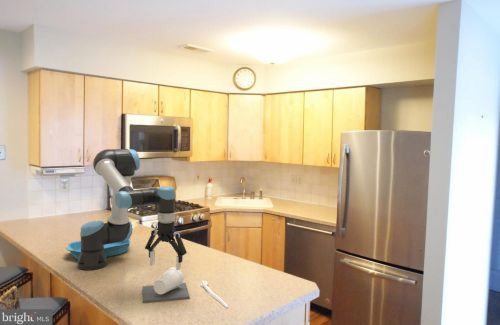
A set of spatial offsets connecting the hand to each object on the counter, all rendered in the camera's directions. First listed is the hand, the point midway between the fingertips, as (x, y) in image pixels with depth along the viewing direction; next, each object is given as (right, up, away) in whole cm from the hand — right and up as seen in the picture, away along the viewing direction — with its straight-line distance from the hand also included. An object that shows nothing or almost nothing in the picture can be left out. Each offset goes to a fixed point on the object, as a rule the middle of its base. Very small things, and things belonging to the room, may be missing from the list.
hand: (165, 267), depth 175 cm
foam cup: (-1, -7, -7) cm, 10 cm away
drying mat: (0, -12, +1) cm, 12 cm away
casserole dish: (-51, -7, +54) cm, 75 cm away
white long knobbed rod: (+23, -14, 0) cm, 27 cm away
